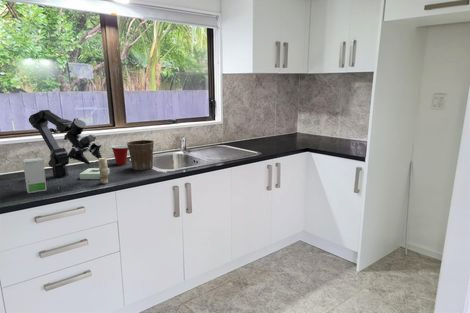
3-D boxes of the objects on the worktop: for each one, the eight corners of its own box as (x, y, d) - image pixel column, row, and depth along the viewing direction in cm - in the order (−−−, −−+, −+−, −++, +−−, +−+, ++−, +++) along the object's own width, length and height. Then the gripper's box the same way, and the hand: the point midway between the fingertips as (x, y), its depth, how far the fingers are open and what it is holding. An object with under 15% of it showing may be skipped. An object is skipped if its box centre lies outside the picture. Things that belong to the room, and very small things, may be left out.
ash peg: (99, 183, 170) (96, 159, 167) (102, 181, 174) (99, 157, 171) (107, 183, 170) (105, 159, 167) (110, 181, 174) (108, 157, 171)
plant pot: (123, 171, 195) (121, 144, 191) (135, 164, 210) (133, 139, 207) (149, 171, 192) (148, 144, 189) (159, 165, 208) (158, 140, 205)
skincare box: (27, 193, 156) (22, 161, 152) (26, 190, 161) (21, 159, 157) (47, 190, 160) (43, 159, 157) (46, 187, 166) (41, 157, 162)
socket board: (80, 179, 178) (79, 174, 178) (89, 173, 190) (88, 168, 189) (102, 178, 179) (101, 173, 178) (109, 173, 190) (109, 168, 190)
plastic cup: (132, 164, 210) (131, 146, 208) (115, 166, 204) (113, 148, 202) (127, 161, 219) (126, 143, 216) (111, 163, 213) (109, 145, 211)
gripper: (69, 132, 160) (90, 155, 159) (96, 127, 177) (115, 148, 176) (59, 147, 164) (79, 170, 163) (86, 141, 182) (105, 161, 181)
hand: (95, 161), depth 171 cm, fingers open, 9 cm apart
